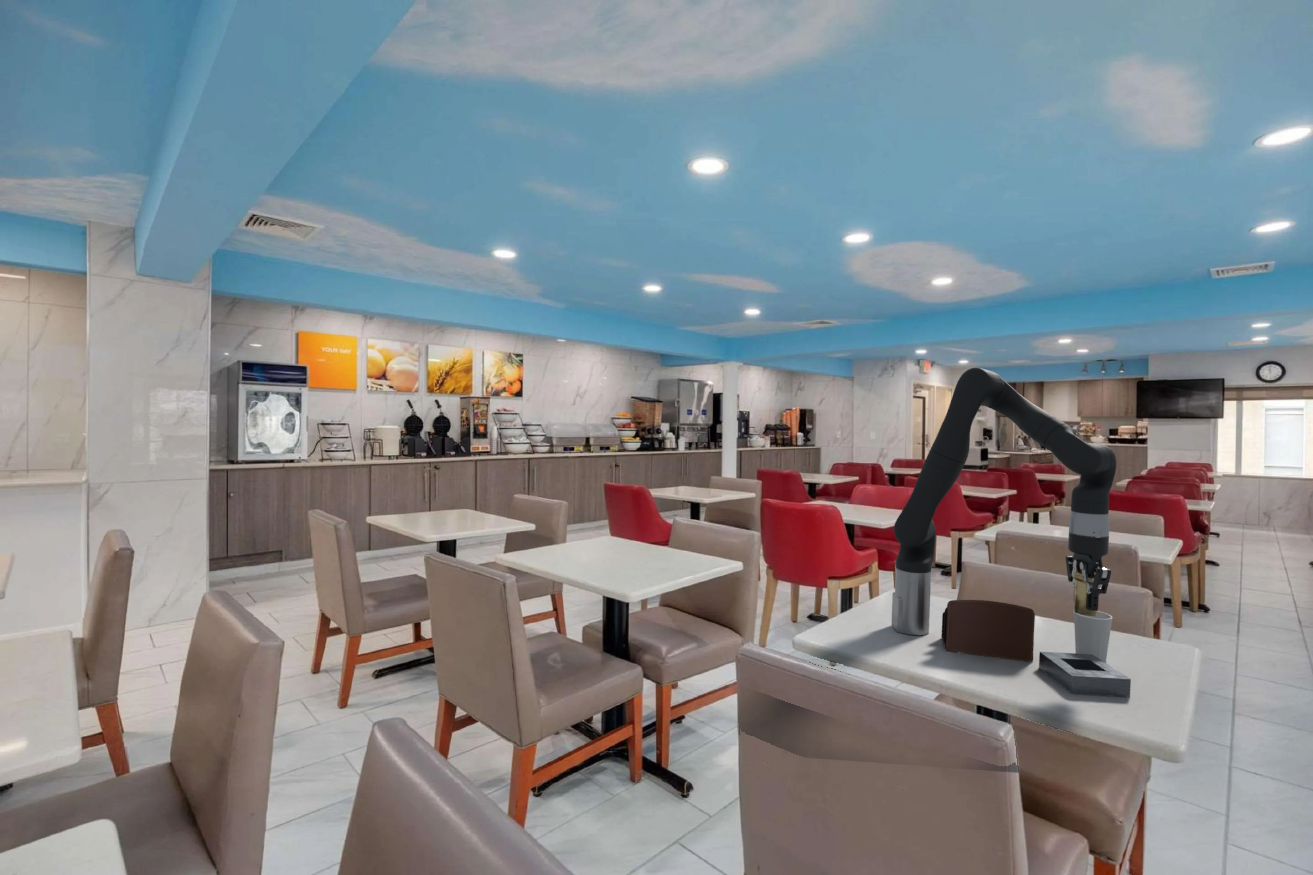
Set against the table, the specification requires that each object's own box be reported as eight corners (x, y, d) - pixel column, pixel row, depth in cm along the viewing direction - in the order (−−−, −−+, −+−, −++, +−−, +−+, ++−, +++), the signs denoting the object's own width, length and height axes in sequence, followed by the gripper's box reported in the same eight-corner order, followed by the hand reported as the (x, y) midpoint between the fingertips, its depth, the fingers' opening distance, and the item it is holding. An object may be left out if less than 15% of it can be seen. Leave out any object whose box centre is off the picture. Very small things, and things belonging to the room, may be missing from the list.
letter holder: (1033, 663, 155) (1036, 606, 154) (945, 651, 161) (947, 597, 161) (1024, 648, 164) (1026, 595, 164) (941, 638, 171) (943, 587, 170)
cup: (1098, 670, 151) (1101, 621, 150) (1064, 658, 158) (1066, 611, 157) (1117, 664, 154) (1119, 616, 154) (1082, 653, 162) (1084, 607, 161)
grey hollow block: (1071, 693, 138) (1072, 675, 138) (1038, 667, 152) (1039, 651, 151) (1129, 697, 137) (1130, 678, 136) (1091, 670, 150) (1092, 654, 150)
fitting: (1079, 615, 141) (1081, 576, 141) (1067, 609, 146) (1069, 570, 146) (1103, 616, 141) (1105, 576, 140) (1090, 609, 146) (1092, 571, 145)
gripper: (1054, 525, 150) (1051, 597, 151) (1089, 537, 136) (1086, 616, 137) (1087, 527, 149) (1085, 598, 150) (1126, 538, 135) (1123, 617, 136)
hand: (1085, 606), depth 143 cm, fingers closed on fitting, 4 cm apart
